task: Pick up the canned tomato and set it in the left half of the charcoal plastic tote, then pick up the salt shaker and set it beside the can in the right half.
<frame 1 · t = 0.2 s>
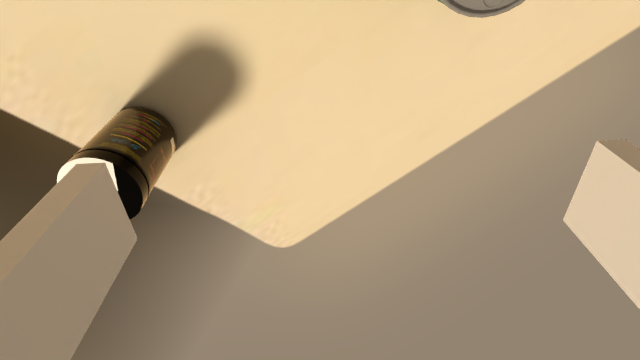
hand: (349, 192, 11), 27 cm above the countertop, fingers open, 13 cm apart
supplement container: (147, 133, 40), on the countertop
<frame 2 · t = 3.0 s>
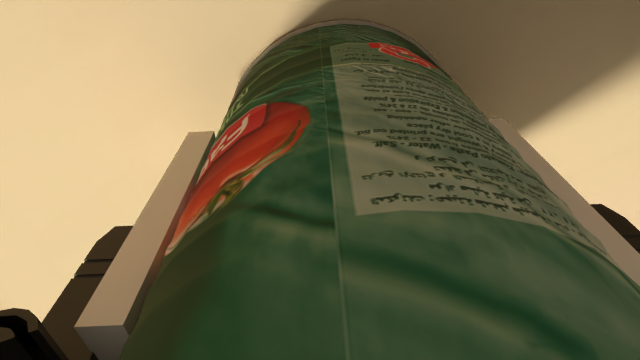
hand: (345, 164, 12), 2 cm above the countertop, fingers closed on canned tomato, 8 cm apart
canned tomato: (341, 135, 13), on the countertop, touching gripper
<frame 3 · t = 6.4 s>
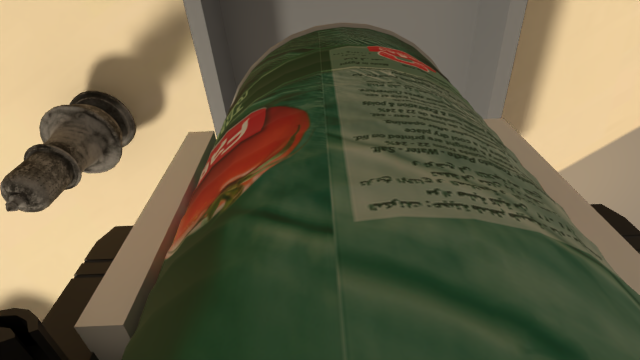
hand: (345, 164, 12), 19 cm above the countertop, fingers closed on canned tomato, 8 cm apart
tote: (350, 61, 29), on the countertop
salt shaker: (103, 120, 32), on the countertop
canned tomato: (340, 137, 13), point 17 cm above the countertop, touching gripper
when the fingers open (5 cm above the countertop, at t = 9.8 s): canned tomato drops 2 cm, resting on tote.
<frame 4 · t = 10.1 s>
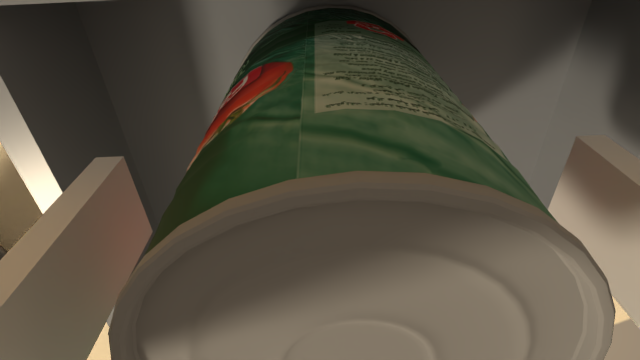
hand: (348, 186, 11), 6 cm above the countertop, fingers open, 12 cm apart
tote: (337, 193, 19), on the countertop
canned tomato: (331, 107, 15), point 1 cm above the countertop, touching tote
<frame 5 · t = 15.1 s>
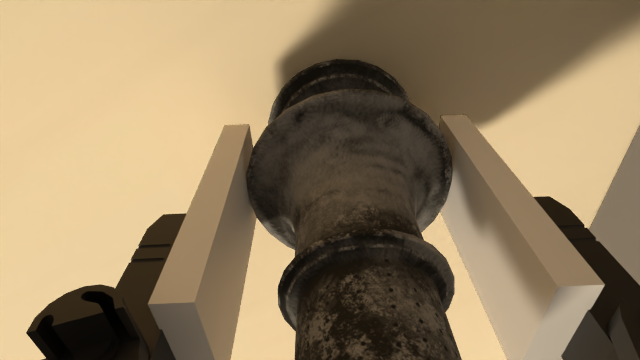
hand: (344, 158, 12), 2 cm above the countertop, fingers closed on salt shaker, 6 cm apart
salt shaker: (340, 129, 14), on the countertop, touching gripper
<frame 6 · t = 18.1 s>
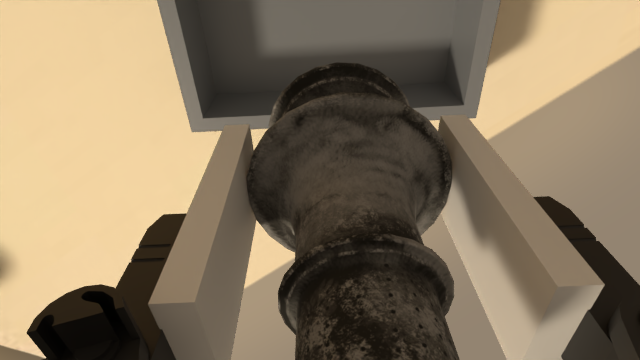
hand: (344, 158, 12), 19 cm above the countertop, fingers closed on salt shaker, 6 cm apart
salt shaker: (340, 132, 14), point 17 cm above the countertop, touching gripper
when the fingers open (5 cm above the countertop, at t = 21.1 s): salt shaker drops 2 cm, resting on tote.
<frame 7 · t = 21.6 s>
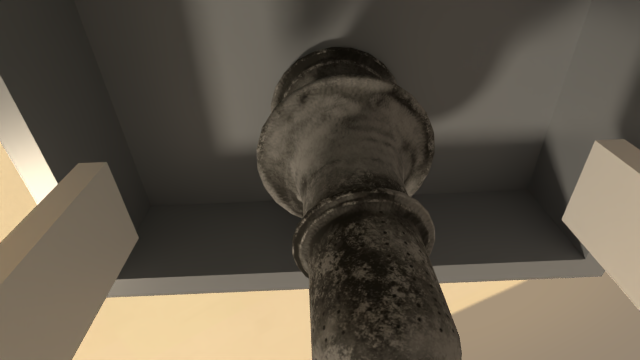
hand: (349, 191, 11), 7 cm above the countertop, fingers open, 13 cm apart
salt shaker: (335, 110, 15), point 1 cm above the countertop, touching tote
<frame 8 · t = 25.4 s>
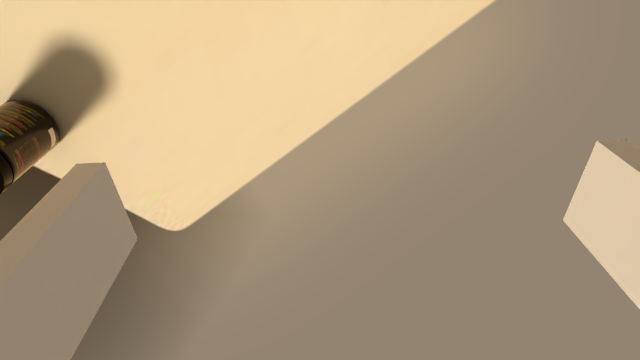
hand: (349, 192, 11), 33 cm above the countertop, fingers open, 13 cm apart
supplement container: (33, 124, 45), on the countertop
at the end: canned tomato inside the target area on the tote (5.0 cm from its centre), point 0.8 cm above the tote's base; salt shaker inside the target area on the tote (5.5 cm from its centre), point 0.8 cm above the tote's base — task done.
